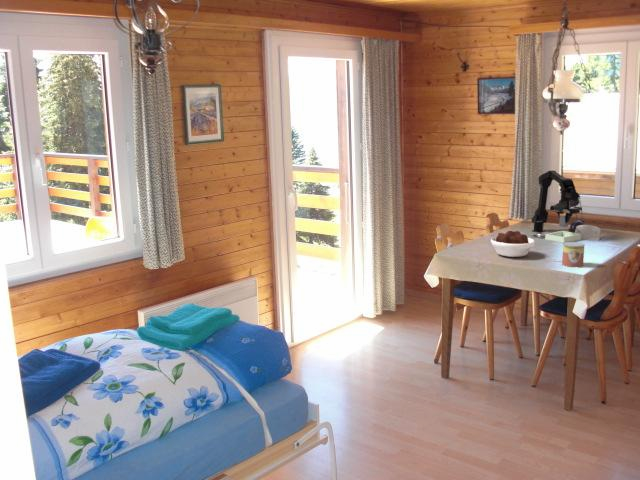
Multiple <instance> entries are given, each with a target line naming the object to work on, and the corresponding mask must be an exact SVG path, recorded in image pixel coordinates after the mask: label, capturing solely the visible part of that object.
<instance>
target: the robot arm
mask: <svg viewBox="0 0 640 480" xmlns="http://www.w3.org/2000/svg"><path fill="white" fill-rule="evenodd" d="M538 176H539V177H538V185H539V188H540V192H539V198H538V206H537V208H536V210H535V212H534V215H533V217H532V218H531V223H533V230H531V231H532V232H535V233H544V232H545V230H544V227H545V226H544V223H545V224H546V223H547V222H548V218H549V216H548V215H549V212H548V211H547V200H548V193H549V188H550V187H551V185H552V182H553V181H555V182H557V183H558V186H559V187H560V189H559V191H560V199H559V200H558V203H556V204H553V205H550V207H549V210H550V211H554V212H555V213H556V214H557V217H558V220H560V214H562V213H564V212H565V213H566V223H568V224H569V222H568V221H570V220H571V217H572V216H573V215H575V214H580V212H581V210H580V208H579V207H578V208H577V207H572V206H571V202H572V201H574V202H575V201H577V200H578V199H579V197H580V194H579V192H578V191H577V190H576V186H575V184H574V181H573V179H572V178H570V177H565V176H563V175H561V174H560V173H558V172H557V171H556V170H547V171H546V172H545V173H542V174H540V175H538Z"/></svg>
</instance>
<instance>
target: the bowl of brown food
mask: <svg viewBox="0 0 640 480" xmlns="http://www.w3.org/2000/svg"><path fill="white" fill-rule="evenodd" d="M490 243H491V245H492V246H493V248H494V249H495V252H496V253H497V254H498V255H500V256H504V257H508V258H518V257H524V256H525V257H526V255H528V254H529V252H530V250H531V249H532V248H533V247H534V245H535V244H536V243H535V239H533V238H531V237H528V235H526V234H522V233H521V232H520V231H519V230H516V231H515V230H507V231H506V232H505V233H503V232H499V233H497V236H494V237H492V238H490Z"/></svg>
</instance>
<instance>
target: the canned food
mask: <svg viewBox="0 0 640 480" xmlns="http://www.w3.org/2000/svg"><path fill="white" fill-rule="evenodd" d="M561 257H562V259H561V266H563V265H564V266H563V267H566V266H567V267H566V268H573V267H578V268H582V267H581V266H583V267H584V259H585V258H584V257H585V243H582V242H578V241H574V242H565V243H562V256H561Z"/></svg>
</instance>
